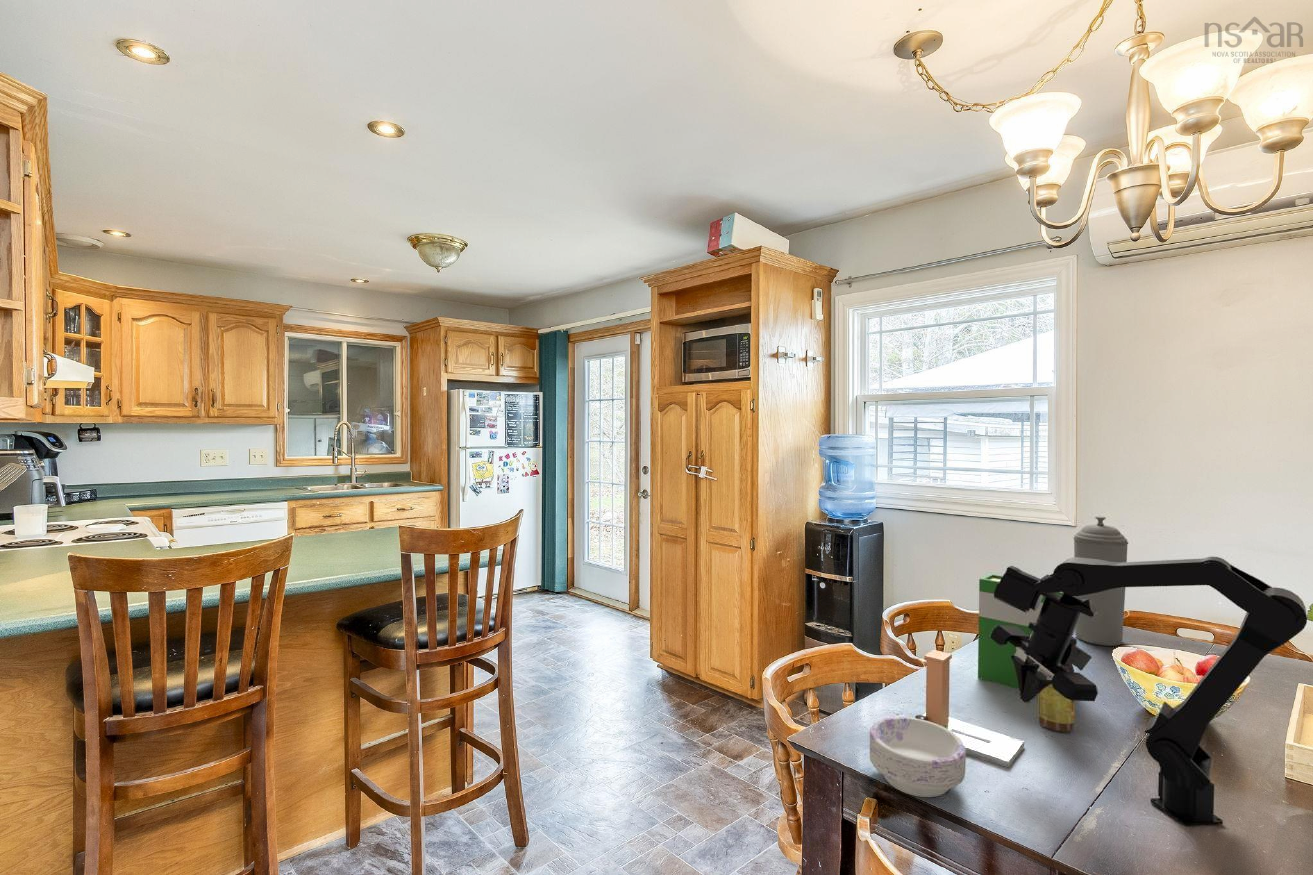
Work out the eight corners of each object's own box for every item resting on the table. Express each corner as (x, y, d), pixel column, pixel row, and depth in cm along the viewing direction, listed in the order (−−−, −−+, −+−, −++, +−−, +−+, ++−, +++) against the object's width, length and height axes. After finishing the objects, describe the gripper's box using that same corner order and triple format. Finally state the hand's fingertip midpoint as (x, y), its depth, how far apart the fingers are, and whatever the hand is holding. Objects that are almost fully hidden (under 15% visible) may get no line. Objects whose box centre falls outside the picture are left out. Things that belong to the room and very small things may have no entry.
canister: (1135, 649, 173) (1138, 520, 172) (1082, 646, 176) (1084, 519, 175) (1113, 634, 185) (1116, 514, 184) (1064, 631, 188) (1066, 512, 187)
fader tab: (950, 722, 128) (951, 654, 127) (942, 730, 124) (943, 660, 124) (932, 716, 130) (933, 649, 130) (923, 724, 127) (924, 655, 127)
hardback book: (1071, 691, 146) (1073, 586, 146) (1062, 701, 141) (1064, 593, 141) (988, 669, 159) (990, 573, 158) (977, 677, 154) (979, 578, 153)
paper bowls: (960, 820, 99) (960, 769, 99) (859, 790, 107) (860, 743, 107) (969, 773, 112) (970, 729, 112) (879, 750, 120) (880, 708, 120)
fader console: (1024, 747, 121) (1024, 730, 121) (1008, 767, 114) (1008, 750, 114) (927, 716, 134) (927, 701, 133) (907, 733, 126) (908, 717, 126)
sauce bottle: (1079, 735, 126) (1081, 634, 125) (1044, 732, 127) (1046, 632, 127) (1065, 720, 132) (1067, 624, 132) (1032, 717, 133) (1034, 622, 133)
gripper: (1138, 660, 106) (1103, 739, 110) (1048, 601, 124) (1020, 671, 127) (1086, 656, 103) (1052, 737, 107) (1002, 597, 121) (975, 669, 124)
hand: (1024, 701), depth 116 cm, fingers closed
